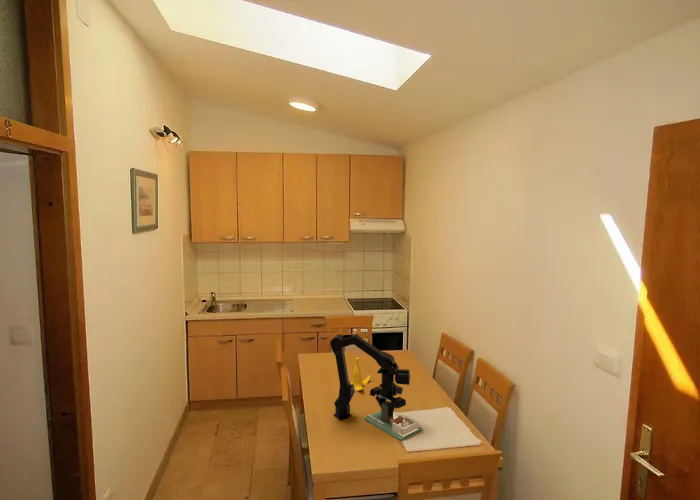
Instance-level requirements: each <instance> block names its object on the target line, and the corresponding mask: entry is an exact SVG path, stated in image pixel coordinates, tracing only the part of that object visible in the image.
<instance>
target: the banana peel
mask: <svg viewBox="0 0 700 500" xmlns="http://www.w3.org/2000/svg"><path fill="white" fill-rule="evenodd" d="M359 360H360V357H359V356H358V357H355V367H354V370H353V373H352V379H351V380H352V381H351V382H350V384H354V390H355V392H356V391H357V392H359V391H364V390H365V388H364V386H367V385H368V383H369V381H370V379H371V377H372V376H371V375H370V374H369V375H368V376H367V377H366V378H365V379H363V376H362V372H361V371H362V370H361V368H360V365H359V362H360V361H359Z"/></svg>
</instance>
